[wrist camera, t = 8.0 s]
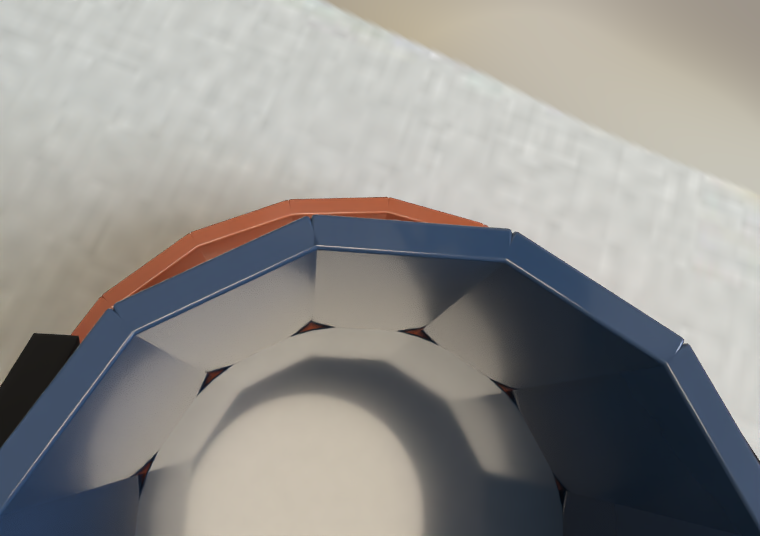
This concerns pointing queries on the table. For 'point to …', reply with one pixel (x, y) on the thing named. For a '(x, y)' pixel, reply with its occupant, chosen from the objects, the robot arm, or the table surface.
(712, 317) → the table surface
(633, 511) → the blue faceted pot
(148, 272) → the lower bowl
